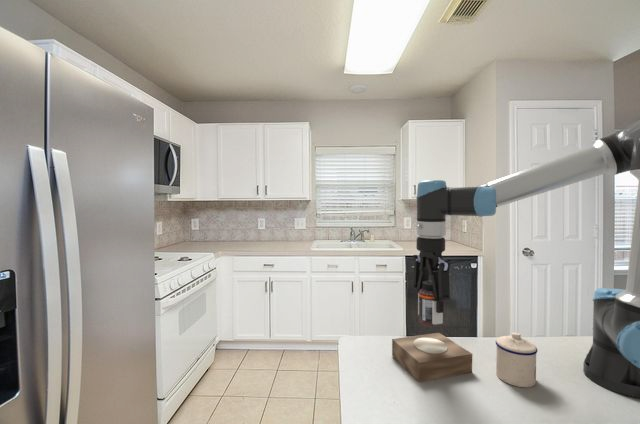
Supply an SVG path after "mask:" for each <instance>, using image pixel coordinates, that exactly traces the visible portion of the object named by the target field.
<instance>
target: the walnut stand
mask: <svg viewBox="0 0 640 424" xmlns="http://www.w3.org/2000/svg"><path fill="white" fill-rule="evenodd" d="M391 346H392V347H391V355H392V357H393V358H394V359H395V360H396V361H397V362H398V363H399V364H400V365H401V366H402V367H403V368H404V369H405V370H406V371H407V372H408V373H409V374H410V375H412V376H413V377H414V378H415V380H416V381H417V382H419V383H423V382H427V381H431V380H438V379H439V380H440V379H443V378H448V377H454V376H460V375H465V374H470V373H473V353H472V352H470V351H469V350H467V349H466V348H464V347H462V346H461V345H459V344H458V343H456V342H454V341H453V340H451V339H450V338H448V337H447V336H445V335H443V334H442V333H440V332H434V333H433V332H432V333H427V334H426V333H425V334H420V335H419V334H417V335H412V336H411V335H410V336H405V337H398V338H392V340H391Z"/></svg>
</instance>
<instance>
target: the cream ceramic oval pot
mask: <svg viewBox="0 0 640 424" xmlns="http://www.w3.org/2000/svg"><path fill="white" fill-rule="evenodd" d="M495 345H496V351H495V352H496V356H495V357H496V358H495V360H496V366H495V367H496V368H495V371H496V376H497V377H498V378H499V379H500V380H501V381H502V382H504V383H506V384H509V385H511V386H515V387H518V388H531V387H534V386H535V385H536V383H537V382H536V381H537V380H536V379H537V353H538V347H537V346H536V345H535V344H534V343H533V342H532V341H530V340H527V339H525V338H524V337H522V335H521V334H520V333H519V332H511V334H510V335H503V336H499V337H497V338H496V340H495Z"/></svg>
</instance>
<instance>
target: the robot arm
mask: <svg viewBox="0 0 640 424" xmlns="http://www.w3.org/2000/svg"><path fill="white" fill-rule="evenodd" d="M626 172H629V173H630V174H631V175H632V176H634V177H635V178H636V179H637V180H638V184H637V192H636V194H637V195H636V201H635V208H634V218H633V227H632V234H631V235H632V236H631V244H630V251H629V260H628V270H627V277H626V286H625V289H621V288H612V287H611V288H610V287H609V288H608V287H600V288H596V289H595V290H594V293H593V298H592V301H593V310H592V311H593V314H592V316H593V319H592V344H591V346H590V349H589V350H588V353H587V354H586V356H585V358H584V361H583V364H582V365H583V366H582V367H583V368H582V369H583V370H582V371H583V374H584V375H585V376H586V377H587V378H588V379H589V380H590V381H592V382H594V383H596V384H598V385H599V386H601V387H603V388H606V389H607V390H610V391H613V392H615V393H618V394H622V395H624V396H629V397H633V398H637V399H640V119H637V120H636V121H634V122H632V123H631V124H629V125H628V126H625V127H623V128H622V129H620V130H618V131H616V132H613V133H611V134H609V135H607V136H605V137H601V138H599V139H597V140H595V141H594V143H593V145H592V146H587V147H585V148H583V149H582V148H581V149H579V150H577V151H574V152H571V153H568V154H566V155H563V156H560V157H557V158H554V159H551V160H548V161H545V162H542V163H541V164H537V165H534V166H532V167H528V168H526V169H522V170H519V171H518V172H514V173H512V174H508V175H506V176H503V177H500V178H498V179H495V180H492V181H489V182H487V183H484V184H480V185H478V186H465V187H450V186H448V185H447V181H445V180H441V179H438V180H437V179H436V180H432V179H431V180H422V181H419V182H418V183H417V192H416V196H415V197H416V235H417V237H416V250H417V251H419V253H418V254H413V258H412V259H413V277H412V279H413V280H412V287H413V288H414V289H415V290H416V291H417V315H418V316H419V291H420V289H422V287H423V286H422V285H423V281H429V279H430V278H431V279H430V281H432V286H433V292H434V298H435V299H432V324H434V325H435V324H439V325H442V324H444V323H443V322H444V321H443V320H444V319H443V315H444V308H445V307H444V305H445V304H444V303H445V301H449V300H450V299H451V297H450V296H451V294H450V293H451V291H450V288H451V286H450V269H451V262H449V261H447V262H446V261H444V259H443V255H442V254H443V253H444V252H445V251H446V238H445V236H446V232H447V231H446V227H447V223H446V216H461V217H462V216H465V217H466V216H467V217H480V218H482V217H493V216H495V215H496V212H497V208H499V207H501V206H505V205H509V204H512V203H515V202H518V201H521V200H524V199H527V198H530V197H533V196H537V195H541V194H544V193H548V192H550V191H554V190H557V189H559V188H560V189H561V188H563V187H567V186H570V185H573V184H576V183H579V182H583V181H586V180H589V179H592V178H595V177H599V176H601V175H604V174H605V175H608V176H615V175H619V174H622V173H626ZM438 295H439V296H438Z"/></svg>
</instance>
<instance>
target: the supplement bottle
mask: <svg viewBox="0 0 640 424" xmlns="http://www.w3.org/2000/svg"><path fill="white" fill-rule="evenodd" d="M422 286H423V287H422V289H420V291H419V315H418V320H419V322H420V323H421V324H423V325H426V326H431V327H436V326H440V324H435V325H434V324H432V299H435V298H434V292H433V286H432V280H428V281H423V285H422ZM438 296H439V295H438Z"/></svg>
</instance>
